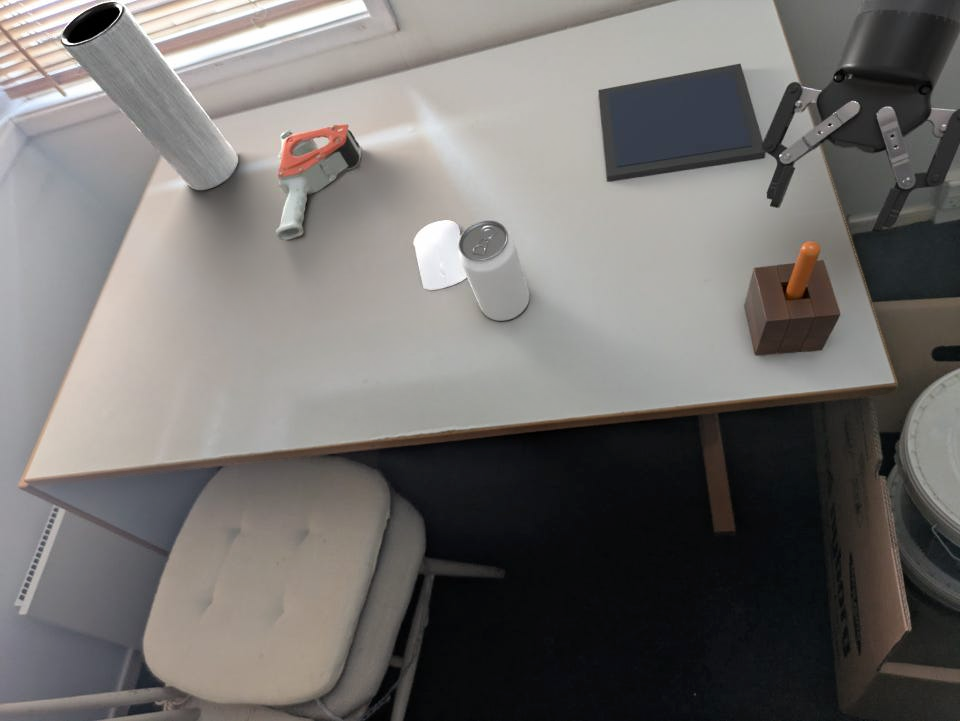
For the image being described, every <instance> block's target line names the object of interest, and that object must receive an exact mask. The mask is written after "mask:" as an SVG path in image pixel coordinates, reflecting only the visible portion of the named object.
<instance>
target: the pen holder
mask: <svg viewBox="0 0 960 721" xmlns="http://www.w3.org/2000/svg"><path fill="white" fill-rule="evenodd" d="M795 263H796V262H793V263H784V264H776V265H766V266H757V267H753V269H752V272H751V277H750V281H749V285H748V288H747V292H746V297H745V301H744V305H743V308H744V311H745V315H746V320H747V325H748V329H749V333H750V340H751V343H752V347H753V352H754V356H766V355H776V354H789V353H790V354H791V353H792V354H793V353H802V352H804V353H805V352H817V351H823V349H824V348H825V346H826V344H827V342H828V340H829V338H830V336H831V334H832V333H833V331H834V328H835V326H836V324H837V322H838V320H839V318H841V310H840V307H839V303H838V300H837V298H836V295H835V291H834V288H833V284H832V282H831V279H830V276H829V272H828V269H827V266H826V262H825V260H824V259H817V261H816V264H815V266H814V269H813V271H812V274H811V276H810V279H809V281H808V284H807V286H806V289H805V291H804V294H803V297H802V299H797V300H787V301H786V300H785V296H784V295H785V292H786V289H787V286H788V283H789V281H790V278H791V275H792V272H793V269H794V266H795Z"/></svg>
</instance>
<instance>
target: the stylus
mask: <svg viewBox="0 0 960 721" xmlns="http://www.w3.org/2000/svg"><path fill="white" fill-rule="evenodd" d="M821 250H822V249H821V245H820V244H819V243H818V242H816V241H813V240H809V241H806V242H804V243H803V244H802V245H801V247H800V249H799V253H798V255H797V258H796V260H795V262H794V263H795V266H794V269H793V272H792V275H791V278H790V281H789V283H788V286H787V289H786V292H785V295H784V296H785V300H786V301H787V300H797V299H802V297H803V294H804V291H805V289H806V286H807V284H808V281H809V279H810V276H811V274H812V271H813V269H814V266H815V264H816V261H817V260H819V259H818V258H819V256H820V253H821Z"/></svg>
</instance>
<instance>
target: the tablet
mask: <svg viewBox="0 0 960 721" xmlns="http://www.w3.org/2000/svg"><path fill="white" fill-rule="evenodd" d="M747 84H748V83H747V81H746V78H745V74H744V69H743V66H742V63H735V64H730V65H725V66H720V67H715V68H708V69H703V70H698V71H697V70H696V71H692V72H687V73H682V74H677V75H670V76H666V77H661V78H655V79H648V80H643V81H639V82H634V83H628V84H622V85H618V86H612V87H607V88H602V89H601V88H600V89H598V90H597V92H598V103H599V113H600V123H601V133H602V144H603V153H604V155H603V156H604V164H605V175H606V182H612V181H613V182H614V181H619V180H625V179H626V180H627V179H633V178H639V177H645V176H646V177H647V176H652V175H658V174H665V173H672V172H680V171H687V170H693V169H700V168H705V167H711V166H712V167H713V166H719V165H726V164H732V163H739V162H744V161H745V162H746V161H752V160H758V159H765V157H766V154H767V152H765V151H764V150H763V149H762V144H763V141H764V139H763V137H762V133H761V130H760V127H759V123H758V119H757V116H756V113H755V109H754V105H753V102H752V99H751V95H750V92H749V88H748V85H747Z"/></svg>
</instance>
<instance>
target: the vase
mask: <svg viewBox="0 0 960 721" xmlns="http://www.w3.org/2000/svg"><path fill="white" fill-rule="evenodd" d="M60 43H61V44H60V45H61V46H62V47H63V48H64V49H65V50H66V51H67V52H68V54H70V55H71V57H72V58H73V59H74V60H75V61H76V62H77V63H78V64H79V65H80V67H81V68H82V69H83V71H85V72H86V74H88V76H90V78H91V79H92V80H93V82H95V84H97V86H99V88H100V89H101V90H102V92H104V94H106V95H107V96H108V98H109V99H110V100H111V101H112V102H113V104H115V106H116V107H117V108H118V109H119V110H120V111H121V112H122V114H123V115H125V117H126V118H127V119H128V120H129V121H130V122H131V123H132V124H133V125H134V127H135V128H136V129H137V130H138V132H140V133H141V134H142V135H143V137H144V138H145V139H146V140H147V141H148V142H149V143H150V144H151V146H152V147H153V148H154V149H155V150H156V151H157V153H159V155H160V156H161V157H162V158H163V159H164V160H165V162H167V163H168V164H169V165H170V167H171V168H172V169H173V170H174V171H175V172H176V173H177V175H178V176H180V178H181V179H182V180H183V181H184V182H185V183H186V184H187V186H188V187H190V188H191V189H193V190H196V191H205V190H206V191H207V190H209V189H214V188H216V187H217V186H219V185H222V184H223V183H224V182H226V180H228V179H229V178H230V177H231V176H232V175H233V174H234V172H235V170H236V168H237V166H238V163H239V157H238V154H237V153H236V151H235V149H234V148H233V147H232V145H231V144H230V143H229V142H228V140H227V139H226V137H225V136H224V135H223V133H222V132H221V131H220V130H219V128H218V127H217V126H216V124H215V123H214V122H213V120H212V119H211V117H209V116H210V115H208V114H207V112H206V111H205V109H204V108H203V107H202V106H201V105H200V103H199V101H198V100H197V99H196V98H195V96H194V95H193V93H191V91H190V90H189V89H188V88H187V86H186V84H185V83H184V82H183V81H182V79H181V78H180V77H179V76H178V74H177V73H176V71H175V70H174V69H173V67H172V66H171V65H170V63H169V62H168V61H167V60H166V58H165V57H164V55H163V54H162V53H161V51H160V50H159V49H158V48H157V46H156V45H155V44H154V42H153V41H152V40H151V39H150V37H149V36H148V35H147V33H146V32H145V30H144V29H143V28H142V27H141V25H140V24H139V23H138V22H137V20H136V19H135V17H134V16H133V14H132V13H131V12H130V10H129V9H128V8H127V7H126V5H125V4H124V3H122V2H120V1H116V0H110V1H104V2H101V3H98V4H95V5H93V6H91V7H88V8H87V9H85V10H84V11H82V12H80V13H79V14H77V15H76V16H75V17H74V18H72V20H70V21H69V22H68V23H67V24H66V26H64V28H63V30H62V32H61V34H60Z"/></svg>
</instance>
